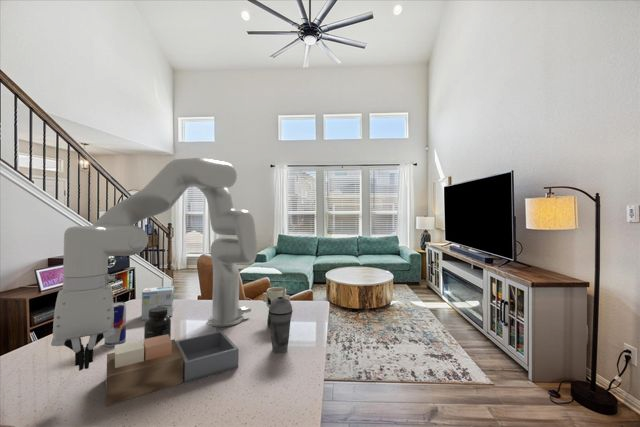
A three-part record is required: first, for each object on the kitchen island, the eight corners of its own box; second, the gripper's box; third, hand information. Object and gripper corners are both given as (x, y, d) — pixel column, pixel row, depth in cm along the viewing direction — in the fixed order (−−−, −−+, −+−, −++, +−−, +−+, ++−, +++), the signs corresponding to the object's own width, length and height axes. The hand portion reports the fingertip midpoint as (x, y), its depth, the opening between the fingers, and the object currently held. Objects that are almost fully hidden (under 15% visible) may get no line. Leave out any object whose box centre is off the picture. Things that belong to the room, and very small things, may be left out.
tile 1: (141, 351, 71) (142, 339, 71) (143, 361, 67) (144, 348, 67) (114, 357, 68) (114, 345, 68) (114, 368, 63) (115, 354, 63)
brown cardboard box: (174, 361, 78) (174, 339, 78) (183, 382, 69) (183, 357, 69) (106, 378, 70) (106, 354, 70) (105, 405, 60) (106, 377, 60)
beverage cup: (268, 344, 90) (270, 280, 90) (292, 343, 90) (293, 280, 90) (266, 355, 82) (267, 285, 82) (291, 354, 83) (293, 285, 83)
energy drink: (114, 348, 85) (115, 307, 85) (99, 346, 86) (100, 306, 86) (129, 340, 91) (130, 302, 91) (115, 338, 92) (116, 301, 92)
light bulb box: (173, 311, 118) (174, 285, 118) (172, 316, 112) (173, 289, 112) (143, 314, 114) (144, 287, 114) (140, 320, 108) (141, 291, 108)
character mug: (257, 326, 104) (258, 290, 104) (266, 319, 110) (267, 285, 111) (285, 330, 101) (286, 293, 101) (293, 323, 107) (293, 288, 108)
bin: (221, 347, 87) (221, 330, 87) (238, 367, 76) (238, 348, 76) (174, 359, 79) (174, 341, 79) (184, 384, 68) (185, 363, 68)
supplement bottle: (138, 352, 83) (139, 311, 83) (158, 343, 89) (159, 304, 89) (155, 357, 80) (156, 314, 80) (175, 347, 87) (176, 307, 87)
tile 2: (167, 345, 74) (168, 334, 75) (171, 354, 70) (171, 341, 70) (143, 351, 71) (143, 339, 71) (145, 360, 67) (145, 347, 67)
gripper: (126, 275, 70) (124, 351, 70) (42, 283, 61) (40, 369, 61) (128, 281, 64) (126, 364, 64) (34, 291, 55) (32, 387, 55)
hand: (84, 366), depth 62 cm, fingers closed
